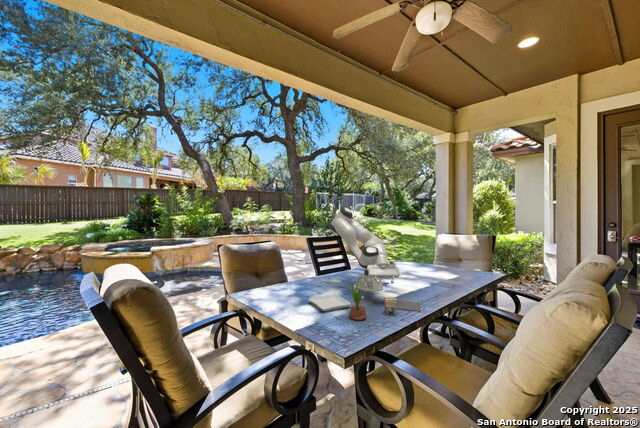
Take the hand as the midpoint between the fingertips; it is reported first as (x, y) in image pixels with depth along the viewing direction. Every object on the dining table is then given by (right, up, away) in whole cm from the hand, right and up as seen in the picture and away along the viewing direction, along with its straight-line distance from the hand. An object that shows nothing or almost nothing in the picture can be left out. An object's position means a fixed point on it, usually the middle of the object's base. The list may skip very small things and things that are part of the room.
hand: (385, 283), depth 183 cm
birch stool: (0, -15, -12) cm, 19 cm away
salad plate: (-36, -15, 0) cm, 39 cm away
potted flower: (-19, -15, -20) cm, 32 cm away
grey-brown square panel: (+15, -15, 0) cm, 21 cm away
